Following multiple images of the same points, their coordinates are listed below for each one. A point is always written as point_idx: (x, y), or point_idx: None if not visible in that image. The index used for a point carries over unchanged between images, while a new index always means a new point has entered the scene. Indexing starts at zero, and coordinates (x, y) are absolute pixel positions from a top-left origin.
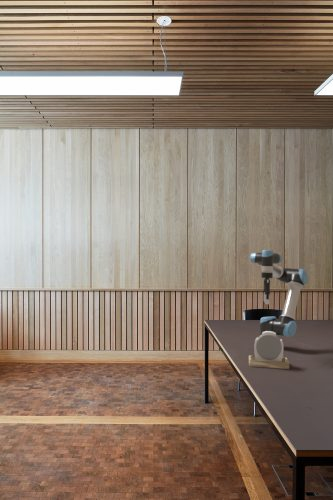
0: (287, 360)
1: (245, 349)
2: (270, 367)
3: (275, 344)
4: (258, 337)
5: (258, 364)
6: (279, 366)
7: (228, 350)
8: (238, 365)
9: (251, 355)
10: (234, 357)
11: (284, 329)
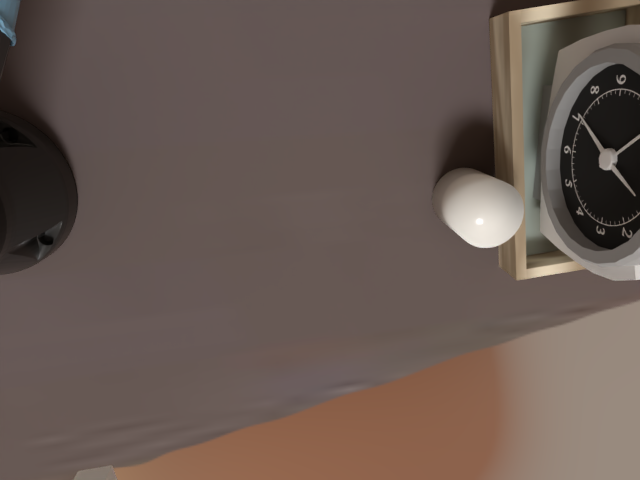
0: (606, 2)
1: (165, 328)
2: None
3: None
4: (622, 265)
5: None
6: None
7: (250, 416)
8: (608, 305)
9: (518, 263)
10: (425, 354)
11: (4, 21)
